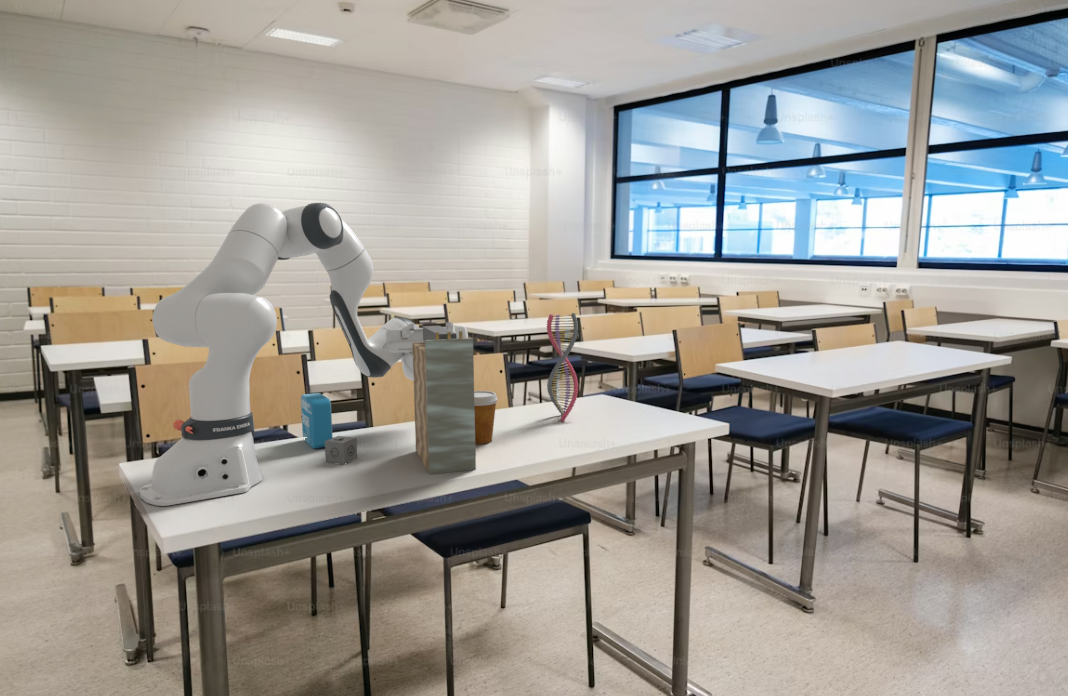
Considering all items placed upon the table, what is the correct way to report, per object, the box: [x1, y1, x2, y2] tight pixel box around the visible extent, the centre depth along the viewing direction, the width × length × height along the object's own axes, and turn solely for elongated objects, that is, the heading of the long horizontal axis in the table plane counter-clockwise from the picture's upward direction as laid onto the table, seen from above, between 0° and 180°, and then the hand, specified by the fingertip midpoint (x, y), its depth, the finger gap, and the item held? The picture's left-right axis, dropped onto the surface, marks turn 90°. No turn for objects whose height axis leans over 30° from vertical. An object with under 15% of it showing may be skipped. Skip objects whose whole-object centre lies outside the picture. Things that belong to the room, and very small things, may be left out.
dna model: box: [546, 312, 579, 422], centre depth 198 cm, size 9×9×30 cm
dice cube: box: [324, 435, 358, 465], centre depth 159 cm, size 5×5×5 cm
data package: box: [300, 392, 334, 450], centre depth 173 cm, size 12×4×12 cm, turn 31°
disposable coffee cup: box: [474, 390, 499, 445], centre depth 174 cm, size 10×10×12 cm
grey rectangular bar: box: [422, 325, 456, 342], centre depth 158 cm, size 20×4×4 cm, turn 18°
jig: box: [412, 331, 477, 475], centre depth 157 cm, size 19×10×30 cm, turn 18°
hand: (430, 325), depth 168 cm, fingers open, 8 cm apart
